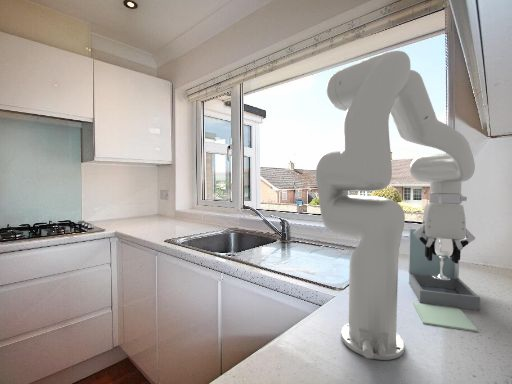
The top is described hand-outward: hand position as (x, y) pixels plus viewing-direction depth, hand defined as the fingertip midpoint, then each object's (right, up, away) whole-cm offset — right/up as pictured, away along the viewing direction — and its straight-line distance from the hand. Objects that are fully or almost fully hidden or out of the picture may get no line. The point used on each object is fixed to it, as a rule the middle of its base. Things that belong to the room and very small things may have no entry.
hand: (441, 260), depth 80 cm
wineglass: (0, -5, 0) cm, 5 cm away
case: (+1, -11, +2) cm, 12 cm away
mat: (-7, -12, -10) cm, 17 cm away
